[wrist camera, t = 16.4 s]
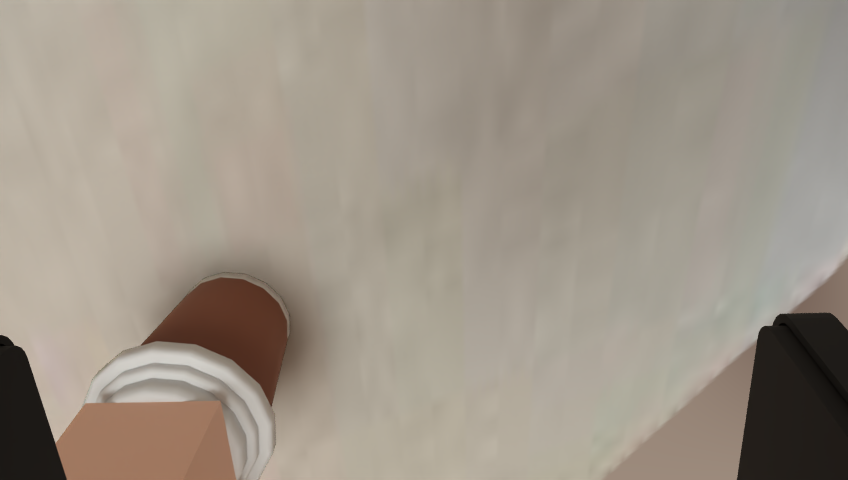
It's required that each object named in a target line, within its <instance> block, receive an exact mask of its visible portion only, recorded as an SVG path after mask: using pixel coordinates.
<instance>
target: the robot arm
mask: <svg viewBox="0 0 848 480" xmlns="http://www.w3.org/2000/svg"><path fill="white" fill-rule="evenodd" d="M0 480H67V478H66V475H65V472H64V469H63V466H62V463H61V459H60V456H59V453H58V450H57V447H56V444H55V441H54V438H53V435H52V432H51V429H50V426H49V423H48V420H47V416H46V413H45V410H44V407H43V404H42V401H41V398H40V395H39V392H38V389H37V386H36V383H35V380H34V376H33V373H32V370H31V367H30V364H29V361H28V358H27V356H26V353H25V351H24V350H23V349H22V348H21V347H18V346H14V344H13V342H12V341H11V340H10V339H9V338H8V337H5V336H3V335H0ZM737 480H848V330H847V329H846V328H845V327H844V326H843V325H842V323H841V322H840V321H839V320H838V319H837V318H836V317H835V316H834V315H832V314H831V313H797V314H780V315H778V316H777V317H776V319H775V321H774V322H773V326H764V327H762V328H761V330H760V332H759V335H758V339H757V346H756V354H755V360H754V367H753V374H752V381H751V388H750V394H749V401H748V408H747V415H746V422H745V429H744V435H743V442H742V449H741V456H740V463H739V470H738V477H737Z"/></svg>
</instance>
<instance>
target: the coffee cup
mask: <svg viewBox="0 0 848 480" xmlns="http://www.w3.org/2000/svg"><path fill="white" fill-rule="evenodd" d="M289 334H290V315H289V313H288V311H287V309H286V307H285V305H284V302H283V300H282V298H281V297H280V296H279V295H278V294H277V293H276V292H275V291H274V290H273V289H272V288H271V287H270V286H269V285H267V284H266V283H265V282H263V281H260V280H258V279H256V278H254V277H251V276H249V275H247V274H239V273H227V272H223V273H220V274H216V275H213V276H210V277H206V278H204V279H203V280H202V281H200V282H199V283H198V284H197V285H196V286H195V287H193V288H192V289H191V290H190V291H189V293H188V294H187V296H186V297H185V298H184V299H183V300H182V301H181V302H180V303H179V304H178V305H177V306H176V308H175V309H174V310H173V311H172V312H171V313H170V314H169V315H168V316H167V317H166V318H165V320H164V321H163V322H162V323H161V324H160V325H159V326H158V327H157V328H156V329H155V330H154V331H153V333H152V334H151V335H150V336H149V337H148V338H147V339H146V340H145V341H144V342H143V343H142V345H141V346H138V347H134V348H131V349H127V350H124V351H122V352H121V353H119V354H118V355H117V356H116V357H115V358H114V359H112V360H111V361H110V362H109V363H108V364H107V365H105V366H104V367H103V368H102V369H101V370H100V371H98V373H97V374H96V375H95V377H94V378H93V379H92V382H91V385H90V388H89V390H88V393H87V396H86V398H85V401H84V404H83V406H84V405H85V403H129V402H183V401H221V406H222V411H223V416H224V420H225V425H226V430H227V436H228V441H229V446H230V451H231V456H232V461H233V466H234V471H235V476H236V480H258V479H260V477H261V475H262V473H263V471H264V469H265V467H266V465H267V463H268V461H269V460H270V458H271V456H272V454H273V451H274V448H275V445H276V430H275V413H274V411H273V409H272V403H273V398H274V394H275V390H276V386H277V382H278V377H279V373H280V369H281V365H282V360H283V356H284V352H285V348H286V344H287V339H288V337H289ZM83 406H82V407H83Z"/></svg>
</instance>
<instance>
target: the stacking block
mask: <svg viewBox="0 0 848 480" xmlns="http://www.w3.org/2000/svg"><path fill="white" fill-rule="evenodd" d="M56 447H57V450H58V453H59V456H60V459H61V463H62V466H63V469H64V472H65V475H66V478H67V480H236V476H235V471H234V466H233V461H232V456H231V451H230V446H229V441H228V436H227V430H226V425H225V420H224V416H223V411H222V406H221V401H183V402H129V403H85V405H84V406H83V407H82V409H81V410H80V411H79V413H78V414H77V415H76V417H75V418H74V419H73V421H72V422H71V423H70V425H69V426H68V428H67V429H66V430H65V432H64V433H63V434H62V436H61V437H60V438H59V440H58V441H57V442H56Z"/></svg>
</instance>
